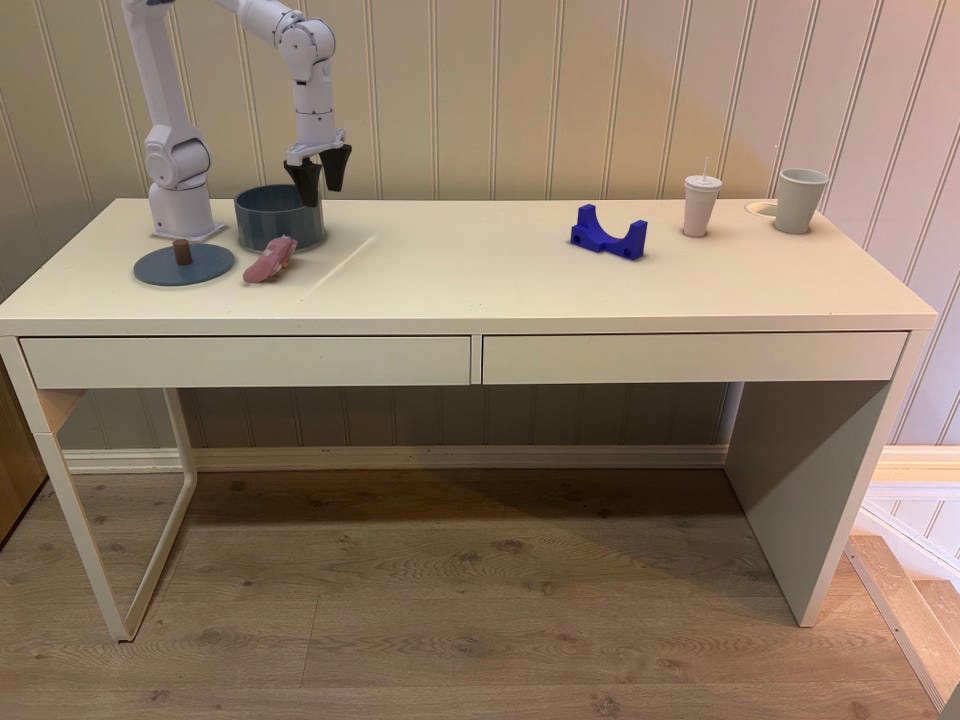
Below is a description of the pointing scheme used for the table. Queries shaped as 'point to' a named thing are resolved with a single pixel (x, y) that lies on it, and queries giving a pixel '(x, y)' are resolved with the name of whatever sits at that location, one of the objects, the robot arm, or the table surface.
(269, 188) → the tin
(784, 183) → the dixie cup
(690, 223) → the smoothie
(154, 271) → the lid
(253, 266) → the pink curved piece
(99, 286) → the table surface
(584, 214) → the blue cradle bracket
